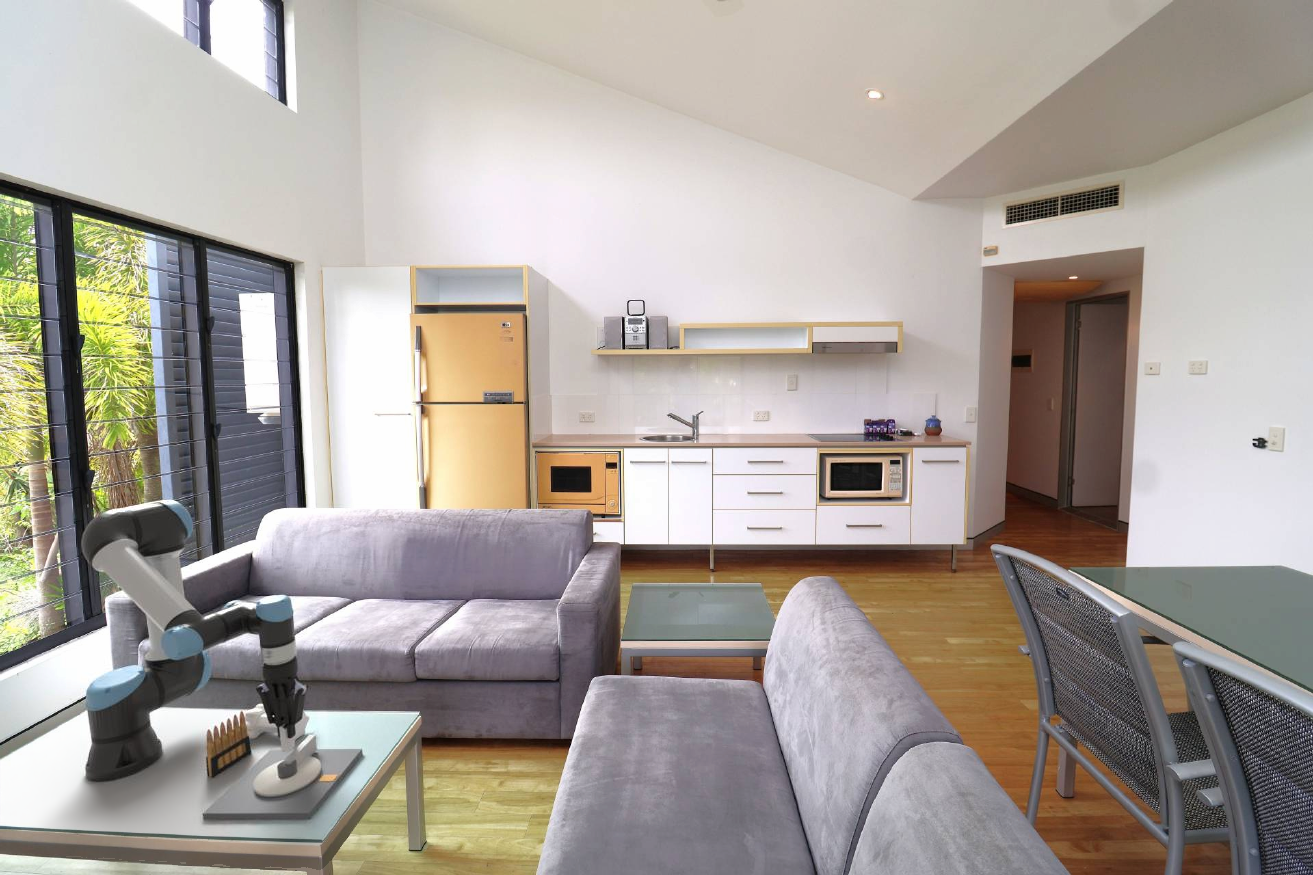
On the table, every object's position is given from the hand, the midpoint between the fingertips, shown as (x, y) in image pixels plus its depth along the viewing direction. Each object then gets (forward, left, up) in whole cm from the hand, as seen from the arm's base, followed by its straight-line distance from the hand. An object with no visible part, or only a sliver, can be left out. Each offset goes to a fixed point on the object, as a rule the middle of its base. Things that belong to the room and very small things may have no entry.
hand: (288, 748), depth 162 cm
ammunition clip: (-15, 0, -4) cm, 16 cm away
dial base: (+5, -8, -4) cm, 10 cm away
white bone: (-11, +13, -4) cm, 18 cm away
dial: (+5, -6, -2) cm, 8 cm away
